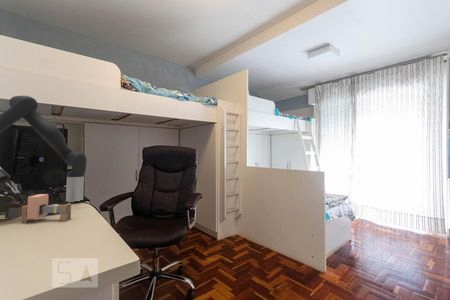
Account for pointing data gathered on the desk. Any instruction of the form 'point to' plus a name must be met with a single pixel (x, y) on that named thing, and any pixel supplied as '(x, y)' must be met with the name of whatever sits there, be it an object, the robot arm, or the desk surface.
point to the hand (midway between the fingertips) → (22, 200)
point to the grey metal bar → (49, 209)
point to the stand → (64, 213)
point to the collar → (36, 206)
